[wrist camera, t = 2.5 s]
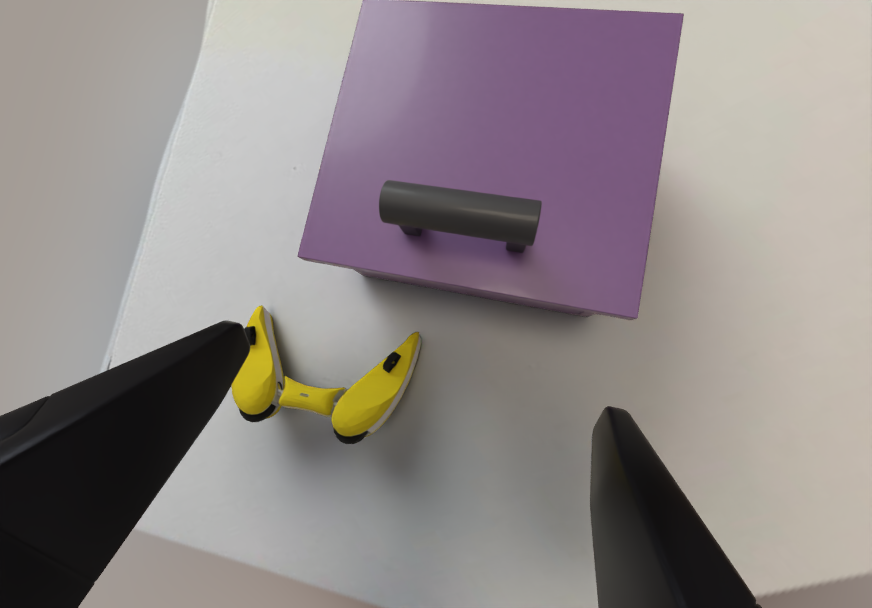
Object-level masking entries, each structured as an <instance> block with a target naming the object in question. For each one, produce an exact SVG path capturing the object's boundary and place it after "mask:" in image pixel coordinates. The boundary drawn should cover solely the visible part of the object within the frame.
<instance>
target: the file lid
mask: <svg viewBox="0 0 872 608" xmlns="http://www.w3.org/2000/svg"><path fill="white" fill-rule="evenodd" d="M683 16H684V14H681V13H660V12H639V11H618V10H596V9H575V8H554V7H533V6H512V5H490V4H469V3H448V2H427V1H406V0H363V2H362V6H361V10H360V14H359V18H358V21H357V25H356V29H355V33H354V37H353V41H352V45H351V49H350V53H349V57H348V61H347V64H346V68H345V72H344V76H343V80H342V84H341V88H340V92H339V96H338V100H337V104H336V107H335V111H334V115H333V119H332V123H331V127H330V131H329V135H328V139H327V143H326V147H325V150H324V154H323V158H322V162H321V166H320V170H319V174H318V178H317V182H316V186H315V190H314V194H313V197H312V201H311V205H310V209H309V213H308V217H307V221H306V225H305V229H304V233H303V237H302V240H301V244H300V248H299V252H298V257H299V258H301V259H303V260H306V261H311V262H317V263H322V264H327V265H333V266H338V267H344V268H349V269H355V270H360V271H366V272H371V273H376V274H382V275H387V276H393V277H398V278H404V279H409V280H415V281H420V282H426V283H431V284H436V285H442V286H447V287H453V288H458V289H464V290H469V291H475V292H480V293H485V294H491V295H496V296H502V297H507V298H513V299H518V300H524V301H529V302H535V303H540V304H545V305H551V306H556V307H562V308H567V309H573V310H578V311H584V312H589V313H594V314H600V315H605V316H611V317H616V318H622V319H627V320H633V319H637V318H638V312H639V305H640V299H641V292H642V286H643V279H644V272H645V266H646V259H647V253H648V246H649V240H650V233H651V227H652V220H653V213H654V207H655V200H656V194H657V187H658V181H659V174H660V167H661V161H662V154H663V148H664V141H665V135H666V128H667V121H668V115H669V108H670V102H671V95H672V89H673V82H674V75H675V69H676V62H677V56H678V49H679V43H680V36H681V29H682V23H683Z"/></svg>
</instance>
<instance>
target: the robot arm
mask: <svg viewBox="0 0 872 608" xmlns="http://www.w3.org/2000/svg"><path fill="white" fill-rule="evenodd" d="M249 352H250V343H249V341H248V338H247V336H246V333H245V331H244V328H243V326H242V325H241V324H240V323H236V322H232V321H222V322H219V323H217V324H215V325H212V326H210V327H208V328H205V329H203V330H201V331H198V332H196V333H194V334H191V335H189V336H187V337H184V338H182V339H180V340H177V341H175V342H173V343H170V344H168V345H166V346H163V347H161V348H159V349H156V350H154V351H152V352H149V353H147V354H145V355H142V356H140V357H138V358H135V359H133V360H131V361H128V362H126V363H124V364H121V365H119V366H117V367H114V368H112V369H110V370H107V371H105V372H103V373H100V374H98V375H96V376H93V377H91V378H89V379H86V380H84V381H82V382H80V383H77V384H75V385H72V386H70V387H68V388H66V389H63V390H61V391H58V392H56V393H54V394H52V395H51V396H47V397H44V398H42V399H40V400H37V401H35V402H33V403H30V404H28V405H26V406H23V407H21V408H18V409H16V410H14V411H11V412H9V413H6V414H4V415H1V416H0V608H78V606H79V605H80V604H81V602H82V601H83V599H84V598H85V596H86V595H87V594H88V592H89V591H90V589H91V588H92V587H93V585H94V582H95V581H96V580H97V579H98V578H99V576H100V575H101V573H102V572H103V571H104V569H105V568H106V566H107V565H108V563H109V562H110V560H111V559H112V558H113V556H114V555H115V553H116V552H117V551H118V549H119V548H120V546H121V545H122V543H123V542H124V541H125V539H126V538H127V537H128V535H129V534H130V532H131V531H132V529H133V528H134V527H135V525H136V524H137V522H138V521H139V519H140V518H141V517H142V515H143V514H144V512H145V511H146V510H147V508H148V507H149V505H150V504H151V502H152V501H153V500H154V498H155V497H156V495H157V494H158V493H159V491H160V490H161V488H162V487H163V485H164V484H165V483H166V481H167V480H168V478H169V477H170V475H171V474H172V473H173V471H174V470H175V468H176V467H177V466H178V464H179V463H180V461H181V460H182V458H183V457H184V456H185V454H186V453H187V451H188V450H189V449H190V447H191V446H192V444H193V443H194V441H195V440H196V439H197V437H198V436H199V434H200V433H201V431H202V430H203V429H204V427H205V426H206V424H207V423H208V422H209V420H210V419H211V417H212V416H213V414H214V413H215V412H216V410H217V409H218V407H219V406H220V404H221V402H222V401H223V399H224V397H225V396H226V394H227V392H228V390H229V389H230V387H231V385H232V383H233V382H234V380H235V378H236V376H237V374H238V373H239V371H240V369H241V367H242V366H243V364H244V362H245V360H246V359H247V357H248V355H249ZM590 511H591V525H592V536H593V548H594V560H595V571H596V583H597V595H598V606H599V608H762V607H761V606H760V605H759V604H756V599H755V597H754V596H753V594H752V593H751V591H750V590H749V588H748V587H747V585H746V584H745V582H744V581H743V579H742V578H741V576H740V575H739V574H738V572H737V571H736V569H735V568H734V566H733V565H732V563H731V562H730V560H729V559H728V557H727V556H726V555H725V553H724V552H723V550H722V549H721V547H720V546H719V544H718V543H717V541H716V540H715V538H714V537H713V535H712V534H711V533H710V531H709V530H708V528H707V527H706V525H705V524H704V522H703V521H702V519H701V518H700V516H699V515H698V514H697V512H696V511H695V509H694V508H693V506H692V505H691V503H690V502H689V500H688V499H687V497H686V496H685V494H684V493H683V492H682V490H681V489H680V487H679V486H678V484H677V483H676V481H675V480H674V478H673V477H672V475H671V474H670V473H669V471H668V470H667V468H666V467H665V465H664V464H663V462H662V461H661V459H660V458H659V456H658V455H657V453H656V452H655V451H654V449H653V448H652V446H651V445H650V443H649V442H648V440H647V439H646V437H645V436H644V434H643V433H642V431H641V430H640V429H639V427H638V426H637V424H636V423H635V421H634V420H633V418H632V417H631V415H630V414H629V413H628V412H627V411H626V410H624V409H620V408H615V407H611V406H607V407H605V408H604V410H603V412H602V413H601V415H600V417H599V419H598V421H597V423H596V424H595V426H594V429H593V433H592V454H591V486H590Z"/></svg>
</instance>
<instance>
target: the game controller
mask: <svg viewBox="0 0 872 608" xmlns="http://www.w3.org/2000/svg"><path fill="white" fill-rule="evenodd" d="M273 329H274V328H273V320H272V316H271V315H270V313H269V312H268V311H267V310H266V309H265V308H264V307H263V306H262V305H261V306H259V307H257V308H256V309H255V311H254V313H253V315H252V316H251V318H250V320H249V322H248V324H247V327H246V328H245V329H244V331H245V333H246V336H247V338H248V341H249V343H250V352H249V355H248V357H247V359H246V360H245V362H244V364H243V366H242V367H241V369H240V371H239V373H238V374H237V376H236V378H235V380H234V382H233V383H232V394H233V397H234V401H235V403H236V404H237V406H238V408H239V410H240V413H241V415H242V416H243V418H244V419H246V420H247V421H250V422H259V421H262V420H264V419H266V418H270V417H272V416H274V415H275V414H276V413H277V412H278V411H279V410H280V408H281V406H283V407H285V408H292V409H301V410H306V411H310V412H314V413H317V414H320V415H323V416H326V417H332V419H331V420H332V424H333V428H334V433H335V435H336V437H337V438H338V439H339V440H340V441H341V442H343V443H345V444H354V443H357V442H359V441H361V440H362V439H364V438H365V437H367V436H369V435H371V434H372V433H374V432H375V431H376V430H378V429H379V428H380V427H381V426H382V425H383V424H384V423H385V421H386V420H387V419H388V418H389V416H390V415H391V414H392V412H393V411H394V409H395V407H396V406H397V404H398V403H399V401H400V399H401V397H402V395H403V393H404V391H405V389H406V387H407V385H408V383H409V381H410V378H411V376H412V373H413V370H414V368H415V364H416V361H417V358H418V354H419V350H420V346H421V338H420V335H419V332H415V333H413V334H412V335H410V336H409V337H408V338H407V340H406V341H405V342H404V343H403V344H402V345H401V346H400V347H398V348H397V349H396V350H395V351H394V352H392V353H391V354H390V355H389V356H388V357H387V358H385V359H384V360H383V361H382V362H381V363H379V364H378V365H377V366H376V367H375V368H373V369H372V370H371V371H370V372H368V373H367V374H366V375H365V376H364V377H362V378H361V379H360V380H359V381H358V382H356V383H355V384H354V385H353V386H352V387H351V388H350V389H349V390H348V391H347V389H346V388H344V387H343V388H330V389H322V388H316V387H311V386H306V385H304V384H301V383H298V382H296V381H294V380H292V379H290V378H288V377H287V376H285V385H284V376H283V371H282V366H281V361H280V357H279V353H278V349H277V344H276V340H275V336H274V331H273ZM339 399H340V400H339Z"/></svg>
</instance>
